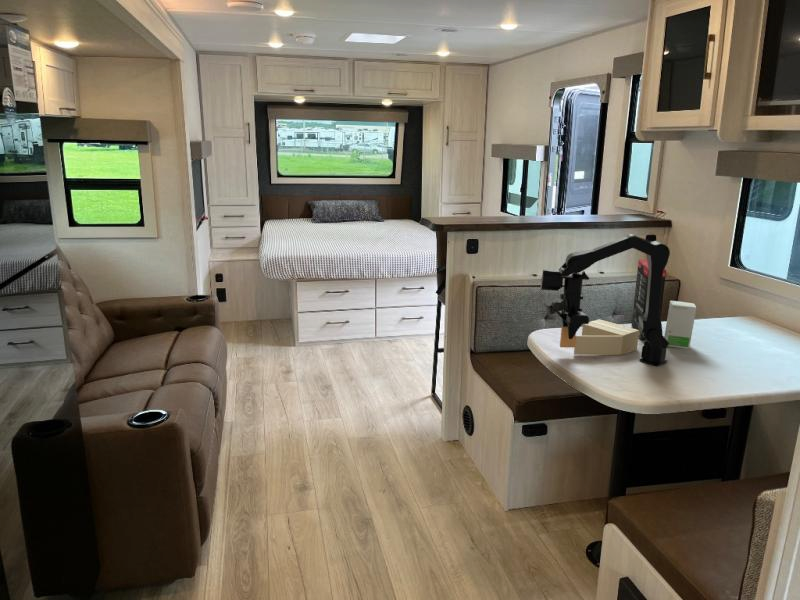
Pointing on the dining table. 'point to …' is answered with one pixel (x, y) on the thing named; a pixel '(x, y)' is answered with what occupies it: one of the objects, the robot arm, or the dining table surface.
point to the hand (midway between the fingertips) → (568, 336)
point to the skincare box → (680, 324)
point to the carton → (613, 333)
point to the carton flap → (592, 344)
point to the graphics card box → (643, 294)
